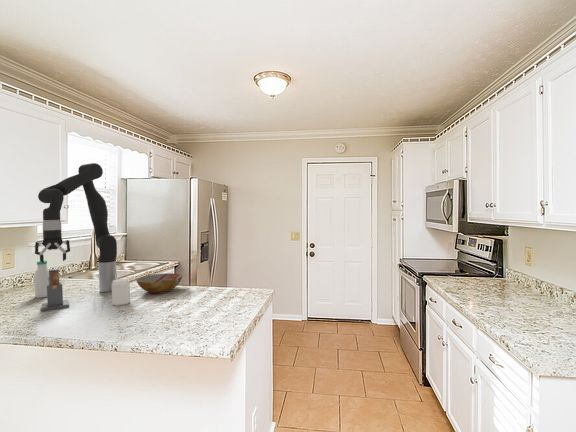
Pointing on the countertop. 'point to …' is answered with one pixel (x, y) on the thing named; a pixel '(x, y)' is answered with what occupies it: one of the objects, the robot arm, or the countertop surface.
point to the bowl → (159, 282)
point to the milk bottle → (41, 280)
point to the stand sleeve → (54, 298)
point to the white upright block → (120, 292)
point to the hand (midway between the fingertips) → (53, 261)
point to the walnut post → (54, 276)
